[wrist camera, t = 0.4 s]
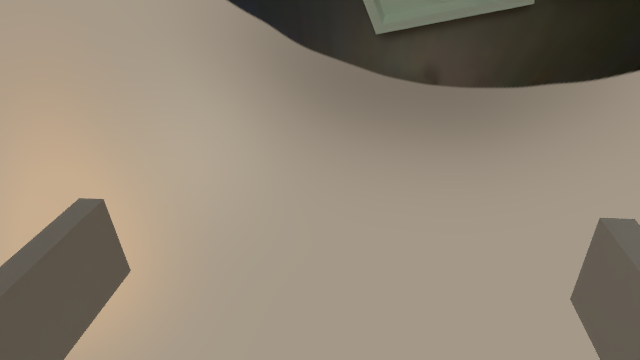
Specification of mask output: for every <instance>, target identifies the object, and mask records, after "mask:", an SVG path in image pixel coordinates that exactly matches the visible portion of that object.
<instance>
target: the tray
mask: <svg viewBox="0 0 640 360" xmlns="http://www.w3.org/2000/svg"><path fill="white" fill-rule="evenodd" d="M363 2H364V4H365V7H366V9H367V12H368V14H369V17H370V20H371V22H372V25H373V27H374V30H375V32H376V34H381V33H386V32H391V31H396V30H402V29H407V28H412V27H417V26H422V25H427V24H433V23H438V22H443V21H448V20H453V19H458V18H463V17H469V16H474V15H479V14H484V13H489V12H494V11H500V10H505V9H510V8H515V7H520V6H525V5H531V4H534V0H363Z"/></svg>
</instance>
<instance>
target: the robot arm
mask: <svg viewBox="0 0 640 360" xmlns="http://www.w3.org/2000/svg"><path fill="white" fill-rule="evenodd" d="M129 272H130V268H129V265H128V263H127V260H126V257H125V255H124V252H123V249H122V247H121V244H120V242H119V239H118V236H117V234H116V231H115V228H114V226H113V223H112V221H111V218H110V215H109V213H108V210H107V207H106V205H105V202H104V200H103V199H82V198H79V199H78V200H77V201H76V202H75V203H73V204H72V205H71V206H70V207H69V208H68V209H67V210H65V212H63V213H62V214H61V215H60V216H58V217H57V218H56V219H55V220H54V221H53V222H52V223H50V224H49V225H48V226H47V227H46V228H45V229H43V230H42V231H41V232H40V233H39V234H38V235H37V236H35V237H34V238H33V239H32V240H31V241H30V242H28V243H27V244H26V245H25V246H24V247H23V248H21V250H19V251H18V252H17V253H16V254H15V255H13V256H12V257H11V258H10V259H9V260H8V261H7V262H5V263H4V264H3V265H2V266H1V267H0V360H64V358H65V357H66V356H67V354H68V353H69V352H70V350H71V349H72V348H73V347H74V345H75V344H76V343H77V341H78V340H79V339H80V337H81V336H82V335H83V333H84V332H85V331H86V329H87V328H88V327H89V325H90V324H91V323H92V321H93V320H94V319H95V317H96V316H97V315H98V313H99V312H100V311H101V309H102V308H103V307H104V306H105V304H106V303H107V302H108V300H109V299H110V298H111V296H112V295H113V294H114V292H115V291H116V290H117V288H118V287H119V286H120V284H121V283H122V282H123V280H124V279H125V278H126V276H127V275H128V274H129ZM570 300H571V301H572V303H573V306H574V307H575V309H576V312H577V314H578V316H579V318H580V320H581V322H582V323H583V326H584V328H585V330H586V332H587V334H588V336H589V338H590V340H591V342H592V343H593V346H594V348H595V350H596V352H597V354H598V356H599V358H600V360H640V225H639V224H638V223H637V221H636V220H635V219H616V218H600V219H599V222H598V225H597V227H596V230H595V233H594V235H593V238H592V241H591V244H590V246H589V249H588V252H587V255H586V257H585V260H584V263H583V266H582V268H581V271H580V274H579V277H578V280H577V282H576V285H575V288H574V290H573V293H572V296H571V299H570Z"/></svg>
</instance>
